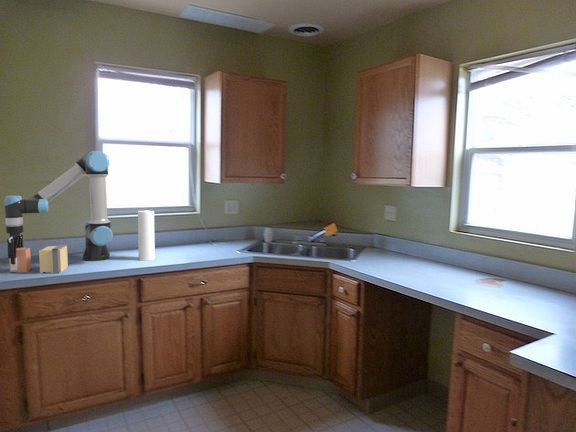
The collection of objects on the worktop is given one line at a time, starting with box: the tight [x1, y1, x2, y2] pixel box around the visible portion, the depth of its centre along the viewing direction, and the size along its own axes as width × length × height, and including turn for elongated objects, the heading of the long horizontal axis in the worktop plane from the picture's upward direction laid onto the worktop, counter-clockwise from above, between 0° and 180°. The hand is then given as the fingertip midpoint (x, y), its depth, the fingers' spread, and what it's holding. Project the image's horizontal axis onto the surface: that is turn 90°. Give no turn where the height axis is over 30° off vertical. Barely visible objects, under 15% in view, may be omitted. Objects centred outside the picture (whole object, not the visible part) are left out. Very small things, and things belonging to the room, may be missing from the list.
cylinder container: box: [137, 209, 156, 262], centre depth 252 cm, size 9×9×30 cm
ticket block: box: [38, 243, 69, 274], centre depth 222 cm, size 10×15×13 cm, turn 13°
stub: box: [8, 247, 32, 273], centre depth 218 cm, size 8×6×12 cm
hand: (16, 268), depth 218 cm, fingers closed on stub, 6 cm apart
